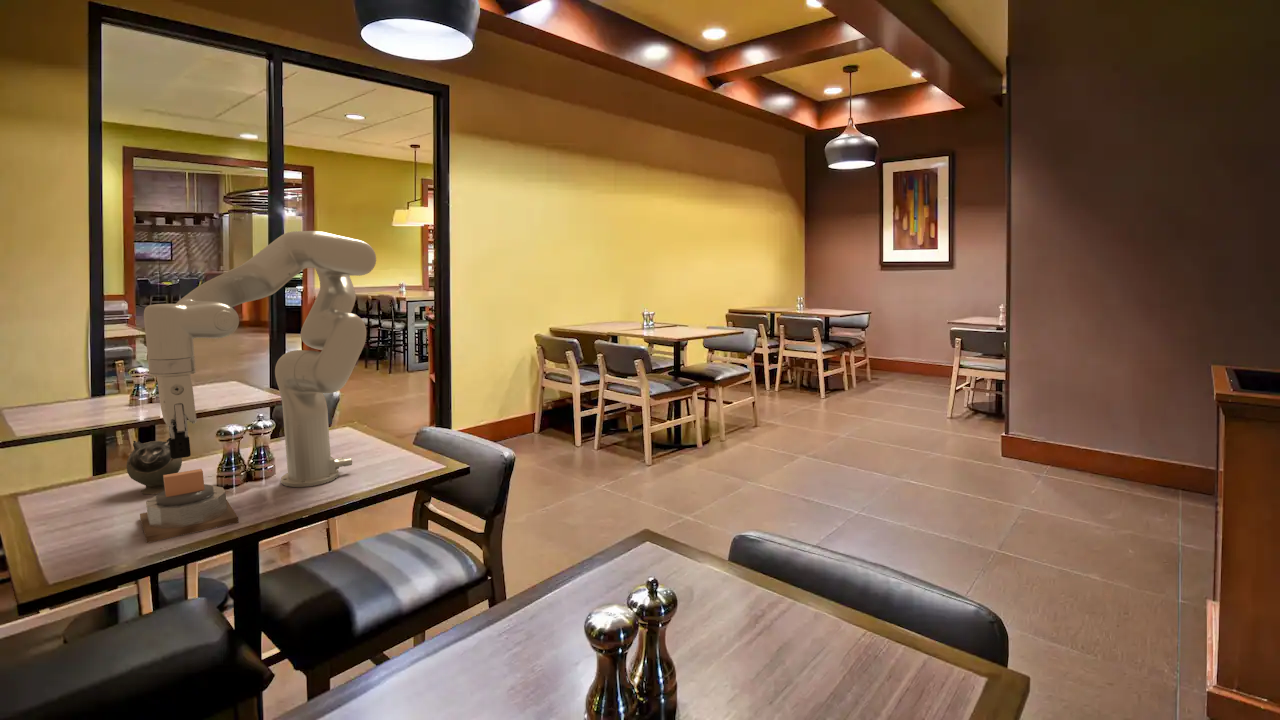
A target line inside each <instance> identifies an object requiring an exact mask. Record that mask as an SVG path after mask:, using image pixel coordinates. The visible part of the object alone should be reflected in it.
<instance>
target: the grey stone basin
mask: <svg viewBox="0 0 1280 720" xmlns="http://www.w3.org/2000/svg"><path fill="white" fill-rule="evenodd" d="M212 486H213V490H214V493H213V495H211V496H210V497H208V498H206V499H203V500H200V501H197V502H193V503H188V504H182V505H171V506H168V505H160V504H158V503H157V502H156V496H157V495H158V494H155V495H154V496H153V497H151V498H150V499H149V500H147V501H146V502H145V506H146V512H147V515H148V521H149V525H150V526H151V527H156V528H162V529H165V528H180V527H186V526H191V525H196V524H200V523H204V522H207V521H209V520H212V519H215V518H217V517H220V516H221V515H222V514H223V513H224V512H226V511H227V501H228V500H227V501H226V499H227V493H226V490H225V489H224V487H223V486H216V485H212Z"/></svg>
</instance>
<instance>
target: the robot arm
mask: <svg viewBox="0 0 1280 720" xmlns="http://www.w3.org/2000/svg"><path fill="white" fill-rule="evenodd" d="M376 264H377V254H376V252H375V250H374V248H373V247H372V246H371V245H370V244H369V243H367V242H366V241H364V240H361V239H358V238H357V239H356V238H352V237H347V236H344V235H337V234H334V233H329V232H325V231H321V230H320V231H319V230H302V231H301V230H299V231H296V230H295V231H288V232H285V233H282V234H281V235H280V236H279V237H277V238H275V239H274V240H273V241H272V242H270V243H269V244H268V245H266V246H265V247H264V248H263V249H262V250H260V251H259V252H257V253H256V254H255V255H253V256H252V257H250V259H248V260H246V261H245V262H243V263H242V264H241V265H238V266H236V267H234V268H232V269H230V270H228V271H225V272H224V273H221V274H219V275H217V276H215V277H213V278H211V279H209V280H206V281H205V282H204V283H201V284H200V285H198V286H197V287H195V288H193V290H191V291H189V292H188V293H187V294H186V295H184V296H183V297H181V299H179V300H178V301H177V302H176V303H156V304H149V305H147V306H145V308H144V311H143V320H144V321H143V322H144V332H145V333H144V334H145V340H146V351H147V352H146V354H147V363H148V372H149V373H148V374H149V377H153V378H155V377H156V380H157V388H158V389H157V390H158V396H159V397H158V398H159V405H160V412H161V415H162V420H163V421H164V423H165V425H167V426H168V433H169V437H168V439H169V446H170V456H171V458H172V459H177V458H182V459H183V458H189V457H190V456H191V443H190V437H189V432H188V422H189V423H192V424H196V423H197V413H196V405H195V395H194V386H193V381H192V377H191V375H193V374H196V373H197V369H196V368H197V367H196V366H197V365H196V357H195V344H194V343H195V342H194V339H223V338H226V337H229V336H230V335H232V334H234V332H236V330H237V329H238V327H239V324H240V318H239V315H238V312H237V310H236V309H234V307H236V306H239V305H241V304H244V303H249V302H253V301H256V300H257V301H259V300H262V299H264V298H267V297H270V296H272V295H274V294H275V293H277V292H278V291H279V290H280V289H282V288H283V287H284V286H285V285H286V284H287V283H289V282H290V281H291V280H292V279H294V277H295V276H297V275H299V273H301V272H302V271H303V270H305V269H314V270H315V272H316V273H317V277H318V280H319V289H318V290H319V291H318V294H317V296H316V299H315V301H314V303H313V304H312V306H311V309H310V310H309V312H308V315H307V316H306V318H305V321H304V323H303V324H302V327H301V331H300V338H301V341H302V342H303V343H304V344H305V345H306V346H307V347H310V348H312V349H315V350H303V349H298V350H297V349H296V350H290V351H288V352H286V353H284V354H282V355H281V356H280V357H279V358H278V360H277V362H276V364H275V366H274V367H275V369H274V375H275V381H276V384H277V388H278V390H279V394H280V398H281V405H282V407H281V408H282V414H283V416H282V417H283V428H284V429H283V430H284V432H283V433H284V442H285V454H286V465H287V466H286V468H287V473H285V474H283V475H282V476H281V477H280V482H281V484H282V485H284V486H286V487H290V488H304V487H307V488H308V487H313V485H314V486H319V485H323V483H324V484H327V483H330V482H331V481H335V480H336V479H337V478H338V477H339V476H340V472H339V469H340V467H341V468H342V467H349V466H352V465H353V460H352V457H346V458H344V457H338V458H334V457H332V456H331V443H330V442H331V440H330V429H329V427H330V426H329V414H328V413H329V412H328V406H327V405H328V404H327V400H326V397H325V395H324V394H334V393H337V392H338V391H340V390H342V388H344V387H345V385H346V384H347V382H348V381H349V378H350V377H351V375H352V373H353V370H354V368H355V367H356V364H357V362H358V360H359V358H360V355H361V354H362V351H363V350H364V347H365V344H366V340H367V328H366V325H365V321H364V320H363V319H362V318H361V317H360V316H358V315H357V314H356V313H352V312H353V309H354V307H355V303H356V298H357V297H356V291H355V287H354V284H353V282H352V279H351V277H352V276H353V277H354V276H355V277H356V276H359V277H360V276H366V275H367V274H370V273H371V272H372V271H373V269H374V268H375V266H376ZM350 276H351V277H350ZM316 350H320V351H316ZM335 478H336V479H335ZM329 481H330V482H329ZM326 482H327V483H326Z"/></svg>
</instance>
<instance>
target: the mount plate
mask: <svg viewBox="0 0 1280 720" xmlns="http://www.w3.org/2000/svg"><path fill="white" fill-rule="evenodd" d="M226 501H227V511H226V512H224V513H223V514H222V515H221V516H220V517H217V518H215V519H212V520H209V521H207V522H204V523H200V524H196V525H191V526H186V527H180V528H165V529H162V528H156V527H151V526H150V525H149V521H148V515H147V511H146V512H143V513H139V520H140V522H141V526H142V530H143V533H144V538H145V542H146V544H148V543H153V542H157V541H162V540H166V539H171V538H175V537H179V536H180V537H181V536H184V535H189V534H194V533H197V532H202V531H207V530H211V529H215V528H216V527H217V528H221V527H225V526H229V525H234V524H239V516H238V514H237V513H236V511H235V510H234V508H233V507H232V506H231V504H230V503H229V500H228V499H227V498H226ZM217 528H216V529H217Z"/></svg>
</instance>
